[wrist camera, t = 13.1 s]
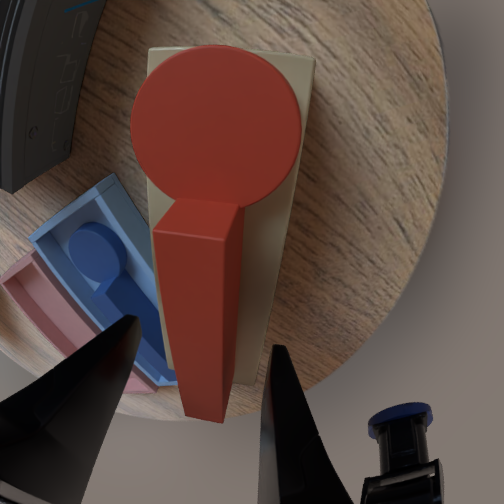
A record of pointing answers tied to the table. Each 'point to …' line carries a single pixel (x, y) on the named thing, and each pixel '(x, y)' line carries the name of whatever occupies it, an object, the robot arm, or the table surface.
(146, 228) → the blue tray
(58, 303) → the rose tray
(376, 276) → the table surface
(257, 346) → the wooden rectangular block
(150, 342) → the blue paddle
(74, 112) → the electronic device
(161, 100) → the red spoon
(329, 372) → the table surface
